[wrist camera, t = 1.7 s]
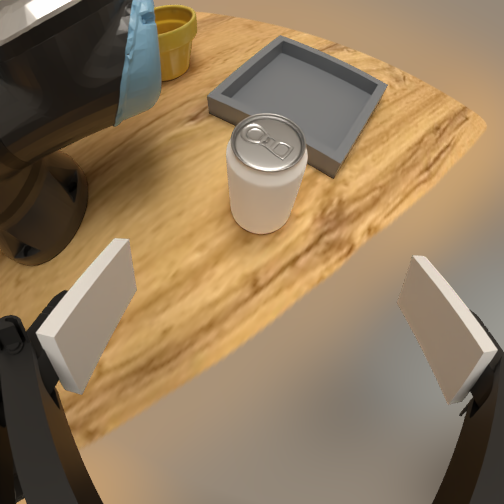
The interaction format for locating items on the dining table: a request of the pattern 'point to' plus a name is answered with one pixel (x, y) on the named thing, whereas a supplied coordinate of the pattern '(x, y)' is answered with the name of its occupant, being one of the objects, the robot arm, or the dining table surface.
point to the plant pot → (175, 38)
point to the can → (265, 171)
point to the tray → (302, 97)
